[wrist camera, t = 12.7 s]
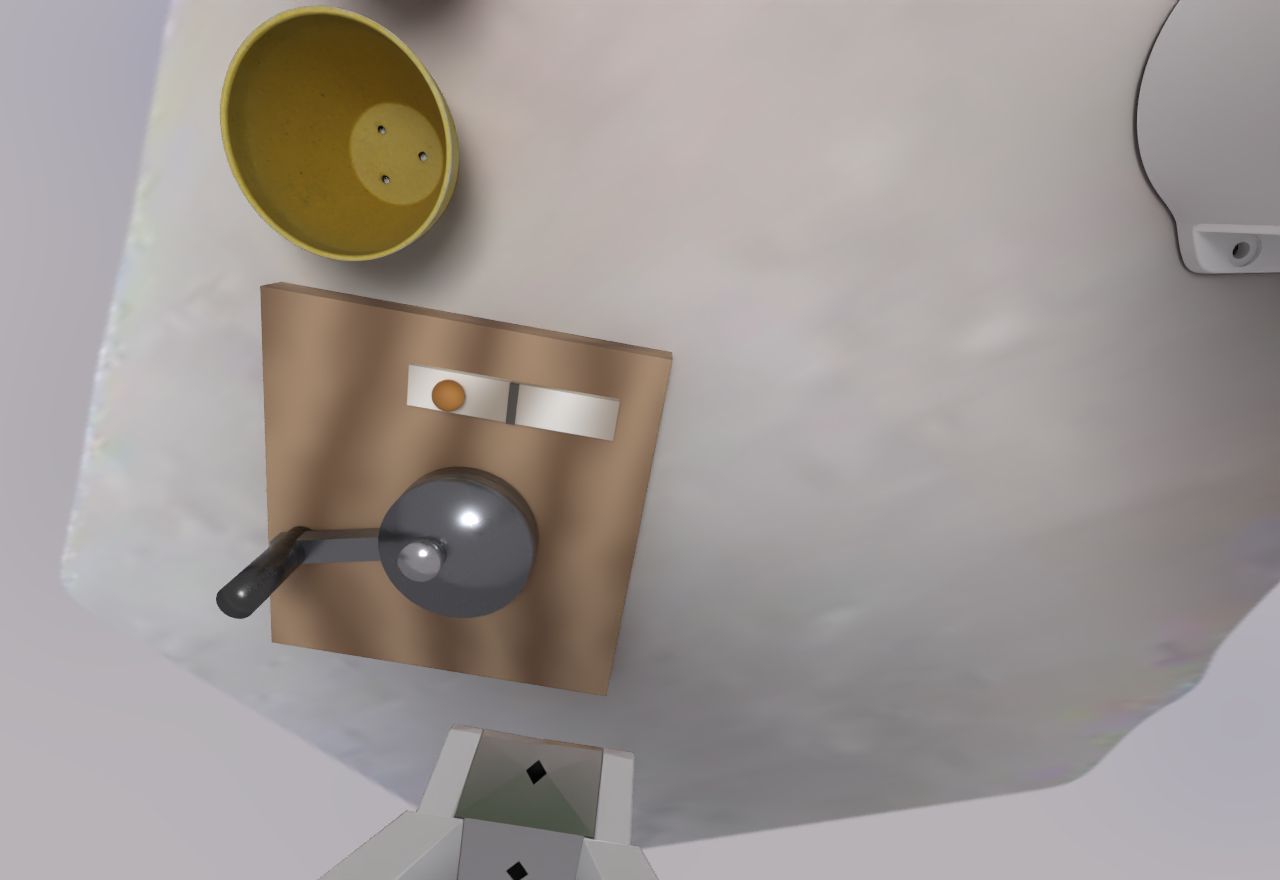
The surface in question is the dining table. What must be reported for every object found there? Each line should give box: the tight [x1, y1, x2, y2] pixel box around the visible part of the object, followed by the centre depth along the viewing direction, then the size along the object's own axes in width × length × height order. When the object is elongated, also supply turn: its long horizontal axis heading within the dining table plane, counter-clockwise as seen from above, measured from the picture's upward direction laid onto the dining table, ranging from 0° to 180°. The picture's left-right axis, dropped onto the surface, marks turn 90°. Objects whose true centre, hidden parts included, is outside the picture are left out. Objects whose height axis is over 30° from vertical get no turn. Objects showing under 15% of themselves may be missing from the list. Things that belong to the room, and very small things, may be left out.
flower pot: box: [220, 5, 459, 261], centre depth 31 cm, size 10×10×7 cm
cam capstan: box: [216, 467, 539, 619], centre depth 36 cm, size 16×9×7 cm, turn 94°
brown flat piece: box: [260, 282, 672, 696], centre depth 39 cm, size 23×24×4 cm
